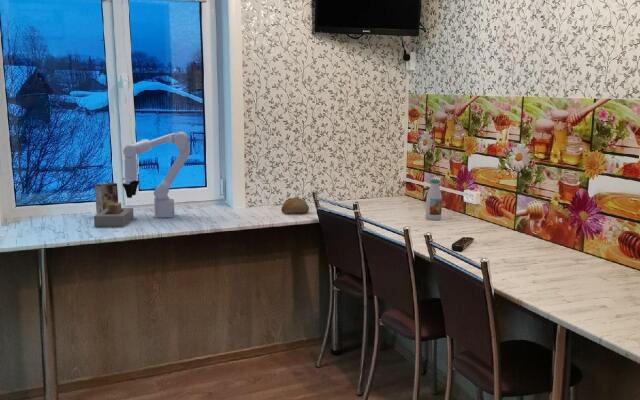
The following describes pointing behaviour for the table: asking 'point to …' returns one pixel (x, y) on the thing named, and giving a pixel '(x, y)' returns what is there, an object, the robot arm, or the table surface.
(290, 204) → the bread roll
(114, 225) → the well block
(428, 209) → the milk bottle
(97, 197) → the coffee box
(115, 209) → the walnut block
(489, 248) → the table surface
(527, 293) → the table surface
